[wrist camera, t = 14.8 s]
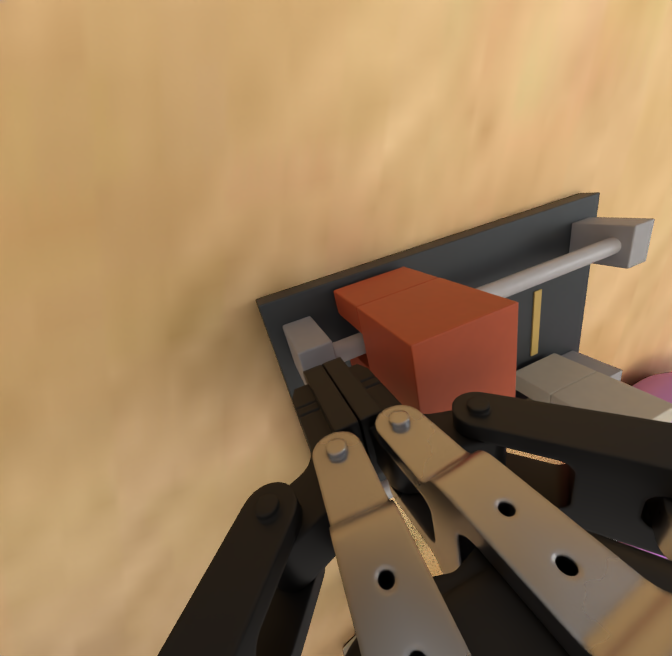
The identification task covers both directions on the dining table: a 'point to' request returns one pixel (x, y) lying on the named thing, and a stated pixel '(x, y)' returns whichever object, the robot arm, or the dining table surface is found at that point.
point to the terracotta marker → (432, 337)
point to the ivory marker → (587, 389)
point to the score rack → (475, 285)
